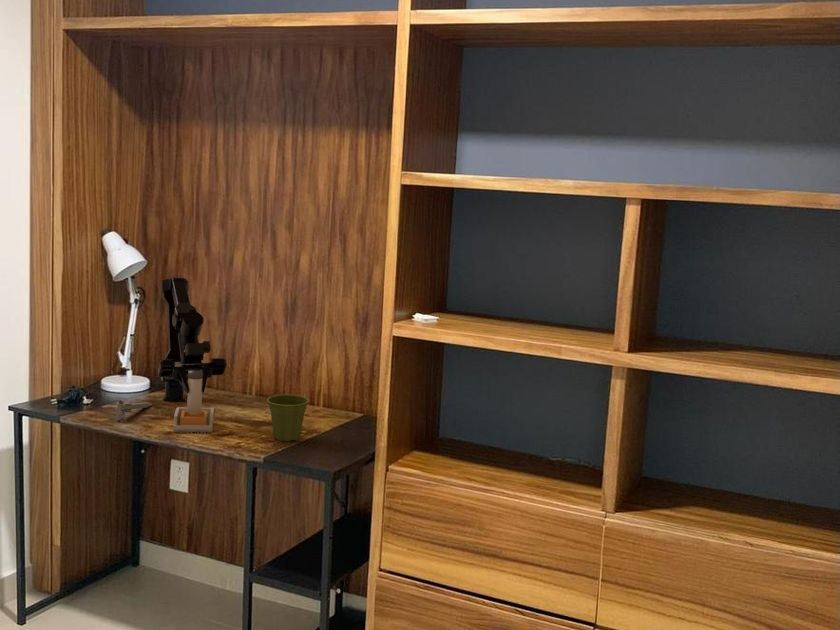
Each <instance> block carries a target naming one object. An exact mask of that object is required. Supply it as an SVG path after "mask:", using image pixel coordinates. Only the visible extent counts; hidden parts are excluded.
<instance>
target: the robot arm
mask: <svg viewBox="0 0 840 630" xmlns="http://www.w3.org/2000/svg"><path fill="white" fill-rule="evenodd" d="M189 290H190V289H189V280H187V278H186V277H181V276H180V277H178V276H177V277H170V278H164V279H163V280H160V282H159V293H161V299H162V301H163V303H164V304H165V306H166V308H167V310H166V311H167V313H166V314H167V339H168V340H167V341H168V342H167V344H168V346H167V347H168V351H167V352H166V354H165V357H164V358H163V359H160V360H159V362H158V363H159V364H158V367H157V375H158V377H159V379H160V380H161V382H162V383H164V382H165V385H164V386H165V393H164V396H163V397H162V400H163V401H167V402H168V401H169V402H170V401H176V402H178V401H180V402H183V401H185V399H186V394H188V393H189V386H188V370H193V369H198V370H202V371H203V376H202V394H203V393H205V389H206V385H207V382H208V378H209V379H210V378H212V376H222V375H224V373H225V370H226V368H227V359H225V358H224V357H211V360H210V362H202V361H204V359H205V358H204V355H205V354H209V353H210V352H211V343H210V340H205V341H203V342H200V341H199V336H200V334H201V331H202V327H203V324H204V317H203V316H202V314H201V313H199V312H198V310H197V308H196V307H195V306H193V305H192V304H191V301H190V297H189V296H190V295H189ZM184 391H185V393H186V394H184Z"/></svg>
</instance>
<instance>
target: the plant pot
mask: <svg viewBox="0 0 840 630" xmlns="http://www.w3.org/2000/svg"><path fill="white" fill-rule="evenodd" d="M266 402H267V403H268V407H269V411H270V416H271V417H270V418H271V423H272V424H271V425H272V432H273V438H274V439H276V440H277V441H280V442H291V441H297V440H299V439H300V436H301V431H302V426H303V421H304V418H305V417H304V416H305V412H306V410H307V407H308V406H307V405H308V403H309V402H310V399H309V398H308V397H306V396H303V395H297V394H277V395H276V394H275V395H272V396H269V397H268V398H267V399H266Z"/></svg>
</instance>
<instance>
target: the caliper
mask: <svg viewBox="0 0 840 630" xmlns="http://www.w3.org/2000/svg"><path fill="white" fill-rule="evenodd" d="M116 406H117V407H116V416H115V417H116V421H117V422H121V421H123V419H124V420H125V414H126V413H131V412H132V410H139V409H146V408H149V407H151V406H153V403H151V402H140V403H139V402H138V403H132V402H125V400H124V399H120V400H118V404H117V405H116Z"/></svg>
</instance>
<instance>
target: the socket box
mask: <svg viewBox="0 0 840 630" xmlns="http://www.w3.org/2000/svg"><path fill="white" fill-rule="evenodd" d="M214 409H215V408H214V407H202V410H201V414H200V415H189V414H187V406H185V407H183V406H181V407H178V406H176V409H175V412H174V415H173V429H172V430H173V432H172V433H174V434H177V433H178V432H180V434H182V432H183V433H184V434H185V432H186V433H187V434H189V432H191V434H192V432H195V433H194V434H198V433H199V432H200V433H199V434H212V433H213V428H214V427H213V426H214V417H215V414H214V413H215V412H214V411H215V410H214ZM175 432H177V433H175ZM196 432H197V433H196ZM203 432H204V433H203ZM206 432H207V433H206ZM209 432H210V433H209ZM178 434H179V433H178Z"/></svg>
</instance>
